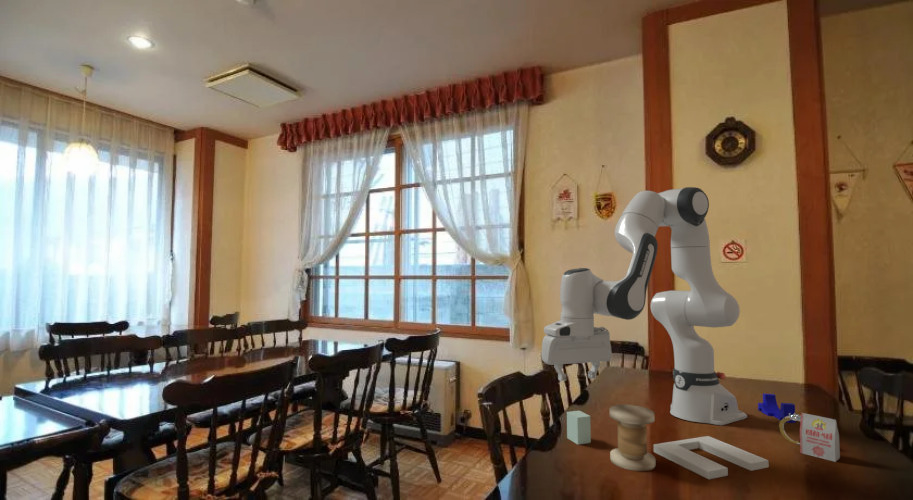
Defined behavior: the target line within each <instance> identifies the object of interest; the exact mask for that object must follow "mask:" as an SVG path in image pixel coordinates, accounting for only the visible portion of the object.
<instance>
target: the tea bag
mask: <svg viewBox="0 0 913 500" xmlns="http://www.w3.org/2000/svg"><path fill="white" fill-rule="evenodd" d="M800 415H801V422H800V421H799V422H800V423H799V442H800V444H799V450H800V451H799V452H800V454H803V455H807V456H812V457H815V458H820V459H822V460H823V459H824V460H827V461H831V462H834V463H836V462H838V460H840V458H841V454H840V453H841V451H840V447H841V446H840V433H839V428H838V424H837V419H835V418H834V419H833V418H829V417H825V416H820V415H814V414H808V413H804V412H801V413H800Z"/></svg>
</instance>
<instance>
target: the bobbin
mask: <svg viewBox="0 0 913 500" xmlns="http://www.w3.org/2000/svg"><path fill="white" fill-rule="evenodd" d="M609 417H610V418H611V419H612V420H614V421H617V448H613V449H611V451H610V452H609V455H610V457H609V459H610V462H611V463H612V464H613V465H615V466H617V467H619V468H621V469H625V470H628V471H629V470H630V471H635V472H644V471H645V472H647V471H652V470H654V469H655V467H656V463H657V462H656V457H655V456H654V455H653V454H652V453H650V452H648V443H647V442H648V441H647V440H648V439H647V438H648V437H647V436H648V435H647V434H648V433H647V425H650V424H653V423H655V420H656V419H655V412H654V411H653V410H651V409H649V408H646V407H644V406H639V405H633V404H615V405H611V406H610V407H609Z"/></svg>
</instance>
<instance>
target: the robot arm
mask: <svg viewBox="0 0 913 500" xmlns="http://www.w3.org/2000/svg"><path fill="white" fill-rule="evenodd" d="M709 207H710V202H709V198H708V195H707V194H706V193H705V191H704V190H702V188H699V187H695V186H694V187H692V186H687V187H683V188H675V189H674V188H672V189H667V190H664V191H661V192H655V191H653V190H641V191H639V192H638V193H636V194H635V195H634V196H633V198H632V199H631V200H630V201H629V203H628V204H627V205H626V207H625V208H624V210H623V212H622V213H621V215H620V217H619V219H618V221H617V223H616V225H615V229H614V237H615V240H616V242H617V243H618V244H619V246H621V248H623V249H624V250H626V251H627V252H628V253H630V254H632V255H631V259H630V263H629V265H628V269H627V272H626V274H625V276H624V277H623V278H622V279H620V280H604V279H602V278H600V277H599V276H596V275H595V274H594V273H593V272H592V270H591V269H590V268H587V267H586V268H585V267H579V268H573V269H567V270H566V271H565V272H563V274H562V276H561V280H560V293H559V297H560V298H559V300H560V304H561V312H560V315H559V317H560V320H557V321H555V322H552V323H550V324H548V325H545V326H544V328H543V332H544V333H543V334H545V335H544V336H543V338H542V342H541V360H542V361H543V363H544V364H546V365H550V366H552V365H554V366H553V367H554V369H555V371H556V373H557V379H558V381H559V382H565V381H567V373H564V372H563V370H562V369H563V368H564V365H566V364H568V365H569V364H582V363H586V364H587V363H590V365H591V368H590V370H588V371H587V377H588V379H592V380H593V379H597V372H598V371H599V369H600V366H601V362H610V361H611V359H612V356H613V355H612V354H613V353H612V344H611V338H610V335H611V334H610V331H609V330H608V329H607V328H606V327H604V326H600V327H597V326H595V315H601V316H606V317H614V318H617V319H622V320H627V321H630V320H634V319H635V318H636V317H639V316H640V314H641V313H642V312H643V310H644V308H645V306H646V305H645V304H646V300H647V299H646V298H647V289H648V286H649V282H650V279H651V275H652V273H653V269H654V267H655V266H654V265H655V262H656V258H657V254H658V250H659V249H658V248H659V243H658V240H657V239H656V235H657V232H658V230H659V227H669V228H670V229H671V230H670V231H671V234H670V235H671V236H670V257H671V258H670V259H671V260H670V261H671V271H672V273H673V275H675V276H676V277H678V278H680V279H682V280H683V281H685V282H686V283H687V284H688V285H689V288H690V290H674V289H673V290H667V291H666V290H665V291H660V292H656V293H655V294H654V296H653V297H652V299H651V301H650V305H649V306H650V311H651V314H652V316H653V318H654V319H655V320H656V321H658V322H659V323H660V324H661V325H662V326H663V327H664V329H665V331H667V333H668V335H669V337H670V339H671V343H672V347H673V348H672V349H673V359H674V368H673V369H672V375H673V376H672V378H673V382H674V383H673V389H672V399H671V400H672V401H671V403H670V411H669V413H670V414H671V415H672V416H673V417H676V418H678V419H682V420H685V421H689V422H696V423H700V424H701V423H702V424H711V425H716V426H725V425H728V424H730V423H734V422H739V421H741V420H745V419H747V418H748V414H746V413H745V412H744V411H742V410H739V408H738V407H739V406H738V401H737V398H736V396H735V395H734V394H733V393H732V392H730V391H729V390H728V389H726V388H725V386H723V385H722V384H721V383H720V380H725V378H726V374H725V372H721V371H717V372H716V371H715V354H714V353H715V352H714V348H713V346H712V344H711V343H710V342H709V341H708V340H706V339H705V338H703V337H701V336H700V335H699V334H698V333H697V332H696V329H695V327H702V328H704V327H705V328H713V329H714V328H726V327H731V326H733V325H735V323H736V322H737V321H738V319H739V316H740V312H741V311H740V305H739V303H738V301H737V299H736V298H735V297H734V296H733V295H732V294H730V293H729V292H727V291H726V290H725V289H724V288H723V287H722V285H720V283H719V282H718V280H717V279H716V277H715V274H714V272H713V267H712V258H711V247H710V246H711V245H710V243H711V242H710V236H709V235H710V234H709V228H708V225H707V222H706V217H707V214H708V212H709V209H710V208H709Z"/></svg>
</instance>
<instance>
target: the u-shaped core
mask: <svg viewBox="0 0 913 500" xmlns="http://www.w3.org/2000/svg"><path fill="white" fill-rule="evenodd" d="M696 449H699V450H701V451H702V450H703V451H704V452H707V453H709V454H712V455H714V456H716V457H718V458H720V459H723V460H724V461H728V462H730V463H732V464H734V465H736V466H738V467H741V468H743V469H746V470H749V471H750V472H753V471H757V470H762V469H767V468H769V466H770V465H769V459H766V458H764V457H762V456H758V455H757V454H753V453H751V452H749V451H746V450H744V449H742V448H739V447H737V446H734V445H731V444H729V443H726V442H724V441H721V440H719V439H717V438H714V437H712V436H709V435H706V436H699V437H698V436H697V437H693V438H687V439H680V440H675V441H674V440H673V441H667V442H666V441H665V442H660V443H655V444H653V453H654V454H657V455H659V456H661V457H663V458H665V459H667V460H669V461H672V462H674V463H675V464H677V465H679V466H681V467H683V468H685V469H687V470H689V471H691V472H693V473H695V474H697V475H699V476H702V477H703V478H705V479H707V480H713V479H717V478H722V477H727V476H728V475H729V473H728V472H729V471H728V470H729V469H728V467H727V466H724V465H722V464H721V463H717V462H716V461H714V460H711V459H709V458H707V457H704V456H702V455H700V454H698V453H696V452H695V451H694V452H693V451H691V450H696Z"/></svg>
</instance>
